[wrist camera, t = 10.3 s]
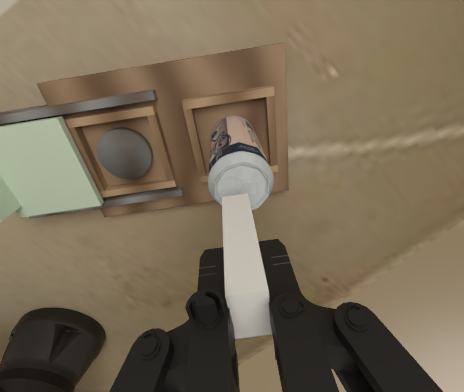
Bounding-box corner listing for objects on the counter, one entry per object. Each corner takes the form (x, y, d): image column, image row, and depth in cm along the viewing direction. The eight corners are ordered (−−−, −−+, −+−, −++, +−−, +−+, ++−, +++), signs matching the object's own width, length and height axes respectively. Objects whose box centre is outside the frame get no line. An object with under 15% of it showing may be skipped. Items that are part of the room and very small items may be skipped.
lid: (25, 213, 29) (1, 234, 26) (-34, 131, 24) (-73, 144, 21) (103, 202, 29) (89, 221, 26) (61, 116, 24) (37, 126, 21)
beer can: (210, 114, 26) (204, 158, 16) (255, 113, 26) (279, 156, 16) (212, 157, 28) (209, 219, 18) (253, 156, 29) (273, 216, 18)
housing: (51, 218, 33) (39, 231, 31) (-30, 94, 25) (-55, 99, 23) (285, 184, 32) (290, 194, 30) (281, 43, 24) (288, 42, 22)
